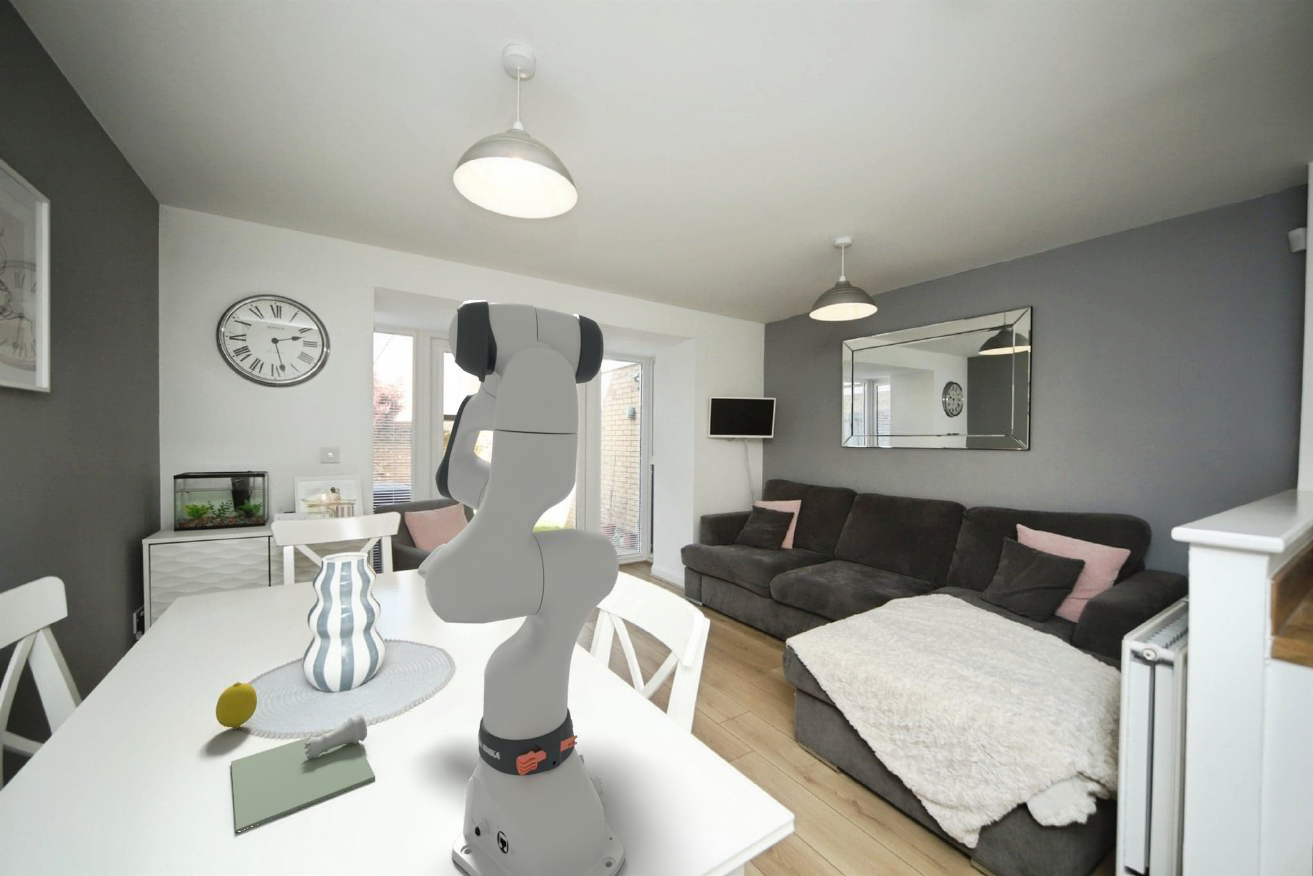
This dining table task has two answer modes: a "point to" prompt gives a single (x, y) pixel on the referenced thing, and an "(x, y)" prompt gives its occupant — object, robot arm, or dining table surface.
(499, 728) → the robot arm
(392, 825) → the dining table surface
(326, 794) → the grayish green thin book
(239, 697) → the lemon
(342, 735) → the rook chess piece
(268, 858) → the dining table surface
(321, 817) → the dining table surface
